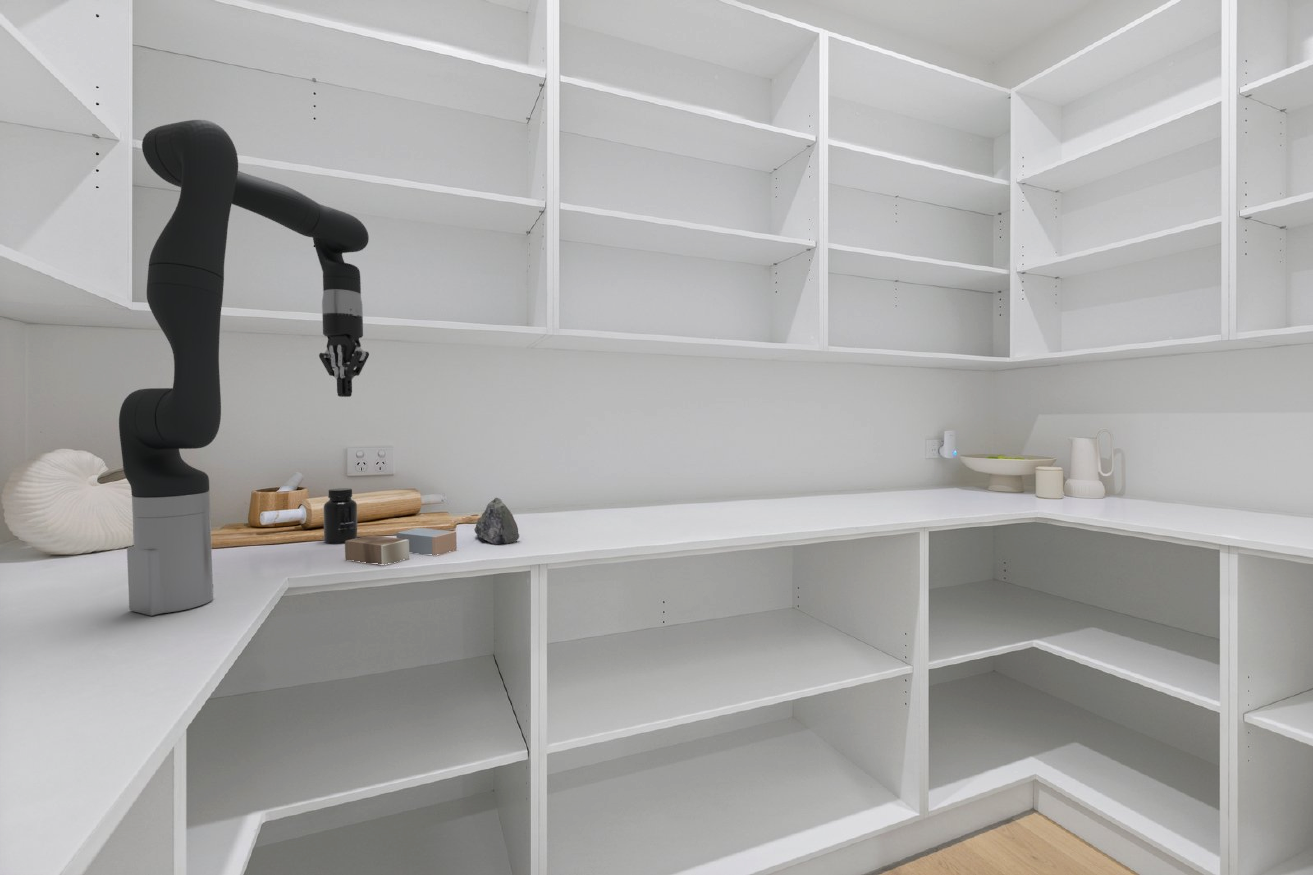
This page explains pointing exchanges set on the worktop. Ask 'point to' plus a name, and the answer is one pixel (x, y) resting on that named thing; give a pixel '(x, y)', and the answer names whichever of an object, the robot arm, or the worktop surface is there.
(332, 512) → the supplement bottle
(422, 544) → the slate block
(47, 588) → the worktop surface
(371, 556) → the walnut block
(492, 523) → the mineral rock
